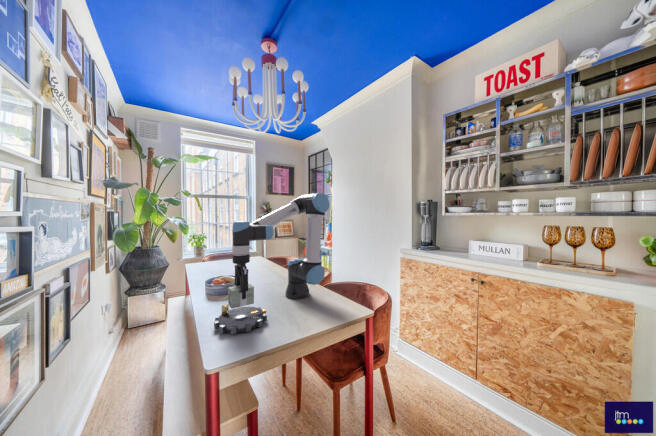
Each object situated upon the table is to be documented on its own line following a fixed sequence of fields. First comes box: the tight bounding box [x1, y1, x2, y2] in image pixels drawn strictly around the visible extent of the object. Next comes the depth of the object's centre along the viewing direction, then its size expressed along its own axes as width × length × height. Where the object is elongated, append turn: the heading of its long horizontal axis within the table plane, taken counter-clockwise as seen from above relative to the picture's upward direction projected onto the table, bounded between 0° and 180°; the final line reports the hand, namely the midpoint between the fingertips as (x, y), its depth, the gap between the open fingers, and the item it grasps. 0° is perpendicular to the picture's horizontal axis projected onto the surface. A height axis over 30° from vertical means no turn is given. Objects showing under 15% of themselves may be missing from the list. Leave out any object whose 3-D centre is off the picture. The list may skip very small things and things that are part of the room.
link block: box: [227, 283, 255, 310], centre depth 106 cm, size 6×10×8 cm, turn 127°
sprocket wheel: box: [213, 303, 268, 335], centre depth 107 cm, size 23×23×7 cm
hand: (241, 303), depth 106 cm, fingers closed on link block, 6 cm apart
